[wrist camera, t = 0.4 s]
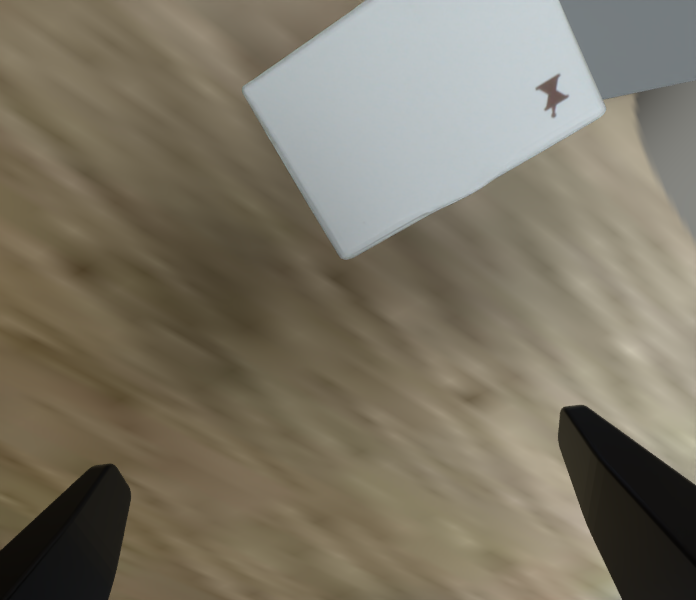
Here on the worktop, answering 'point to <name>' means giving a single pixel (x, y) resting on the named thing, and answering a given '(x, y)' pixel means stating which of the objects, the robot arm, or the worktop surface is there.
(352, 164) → the skincare box
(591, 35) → the plate
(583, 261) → the worktop surface
